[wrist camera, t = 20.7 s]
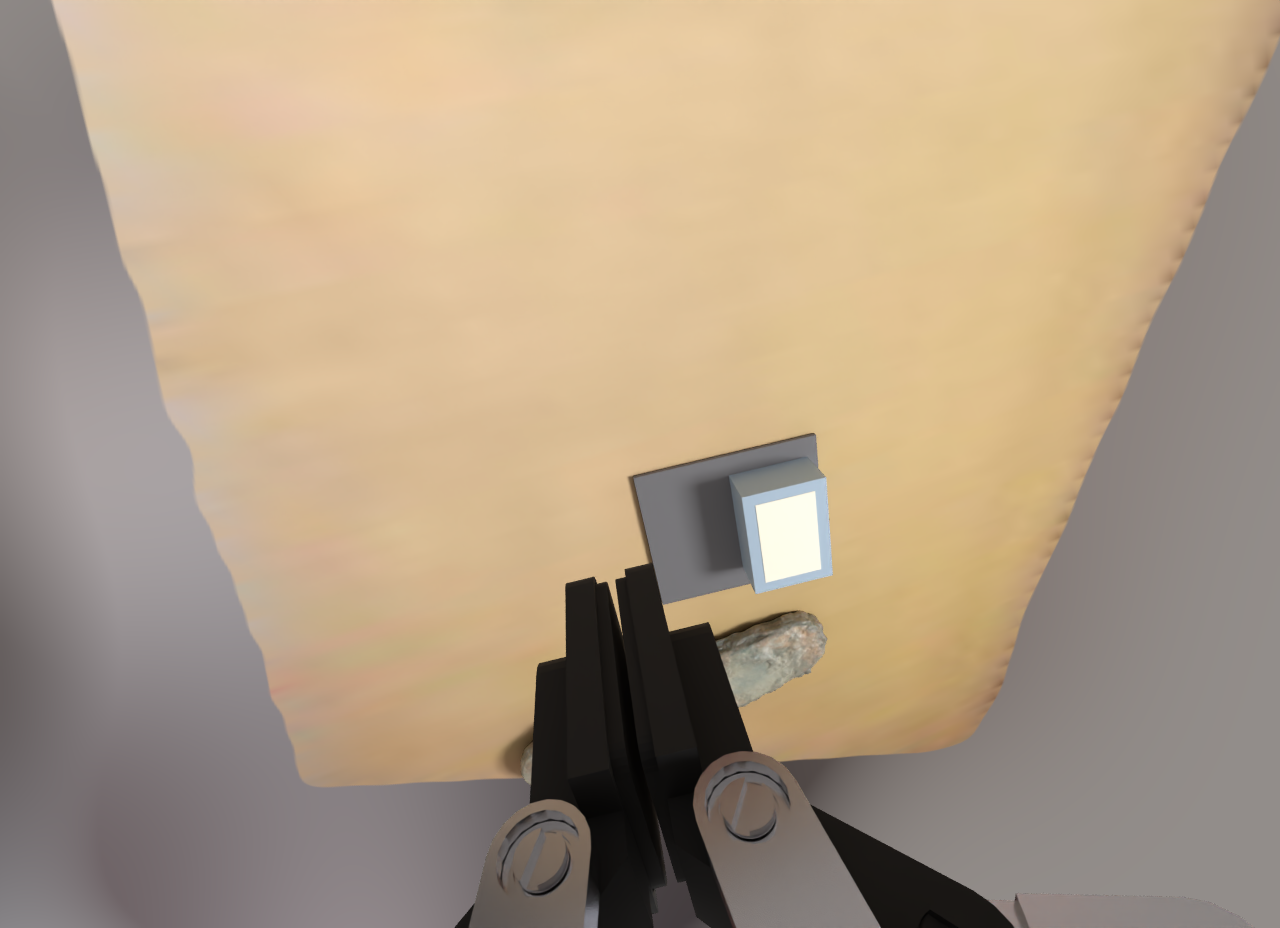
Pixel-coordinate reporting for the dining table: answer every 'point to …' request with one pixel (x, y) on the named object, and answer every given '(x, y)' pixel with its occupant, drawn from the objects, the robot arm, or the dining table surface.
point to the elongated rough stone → (758, 660)
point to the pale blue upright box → (782, 524)
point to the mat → (703, 518)
